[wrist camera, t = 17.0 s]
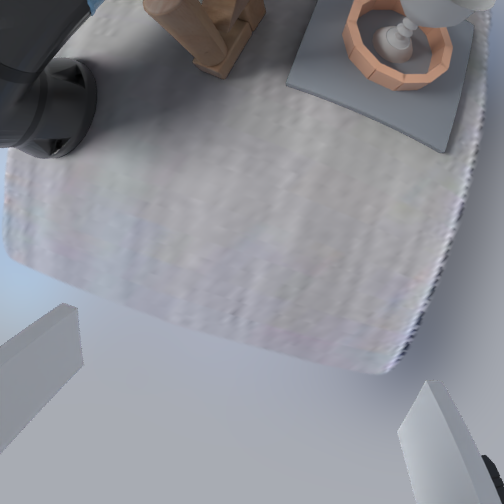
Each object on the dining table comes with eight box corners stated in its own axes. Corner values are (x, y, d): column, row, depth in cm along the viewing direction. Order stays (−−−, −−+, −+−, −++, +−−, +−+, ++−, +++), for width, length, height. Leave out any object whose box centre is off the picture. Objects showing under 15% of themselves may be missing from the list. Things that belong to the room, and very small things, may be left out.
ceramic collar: (331, 64, 31) (335, 53, 27) (357, -11, 27) (363, -26, 23) (425, 107, 30) (439, 102, 27) (445, 31, 27) (458, 20, 23)
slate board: (286, 85, 33) (285, 82, 32) (333, -35, 28) (334, -40, 26) (439, 152, 33) (444, 152, 31) (469, 28, 27) (474, 25, 26)
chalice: (355, 52, 30) (397, -28, 13) (373, 11, 28) (415, -75, 11) (412, 81, 30) (491, 29, 13) (426, 39, 28) (499, -25, 11)
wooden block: (267, 12, 31) (245, -77, 14) (225, 81, 34) (171, 21, 17) (241, 3, 31) (205, -84, 14) (199, 70, 34) (131, 11, 17)
